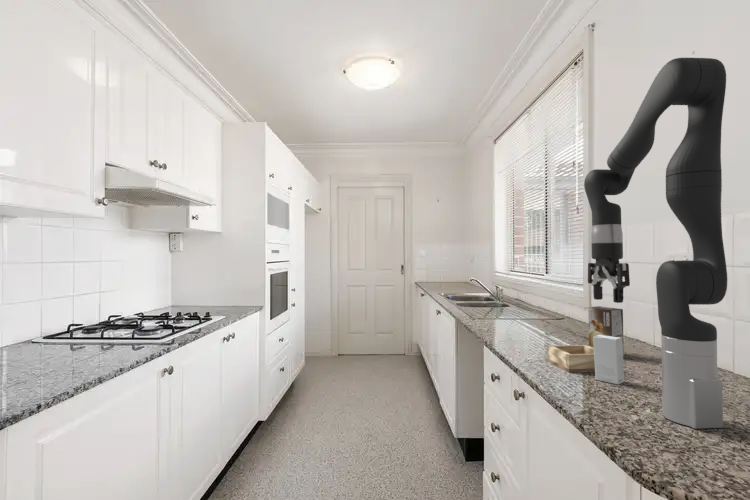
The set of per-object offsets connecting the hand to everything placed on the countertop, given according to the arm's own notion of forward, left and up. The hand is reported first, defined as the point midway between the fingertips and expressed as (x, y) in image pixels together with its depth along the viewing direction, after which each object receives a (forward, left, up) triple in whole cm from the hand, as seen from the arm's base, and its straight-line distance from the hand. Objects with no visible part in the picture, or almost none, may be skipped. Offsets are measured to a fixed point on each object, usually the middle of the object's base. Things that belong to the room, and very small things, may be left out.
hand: (607, 300), depth 110 cm
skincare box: (0, 0, -22) cm, 22 cm away
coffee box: (+28, -18, -22) cm, 40 cm away
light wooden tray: (+15, 0, -22) cm, 27 cm away
